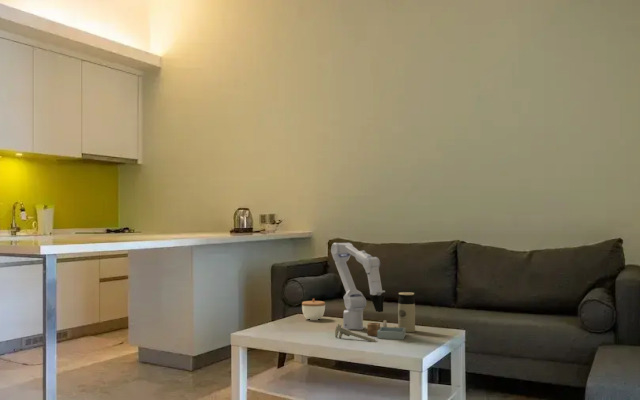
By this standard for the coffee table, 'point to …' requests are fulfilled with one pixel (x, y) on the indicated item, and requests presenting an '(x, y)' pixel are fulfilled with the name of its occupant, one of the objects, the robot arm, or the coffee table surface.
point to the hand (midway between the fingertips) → (379, 311)
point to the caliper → (348, 333)
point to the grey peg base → (384, 323)
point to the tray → (391, 333)
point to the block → (373, 329)
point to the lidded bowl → (313, 309)
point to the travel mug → (406, 311)
